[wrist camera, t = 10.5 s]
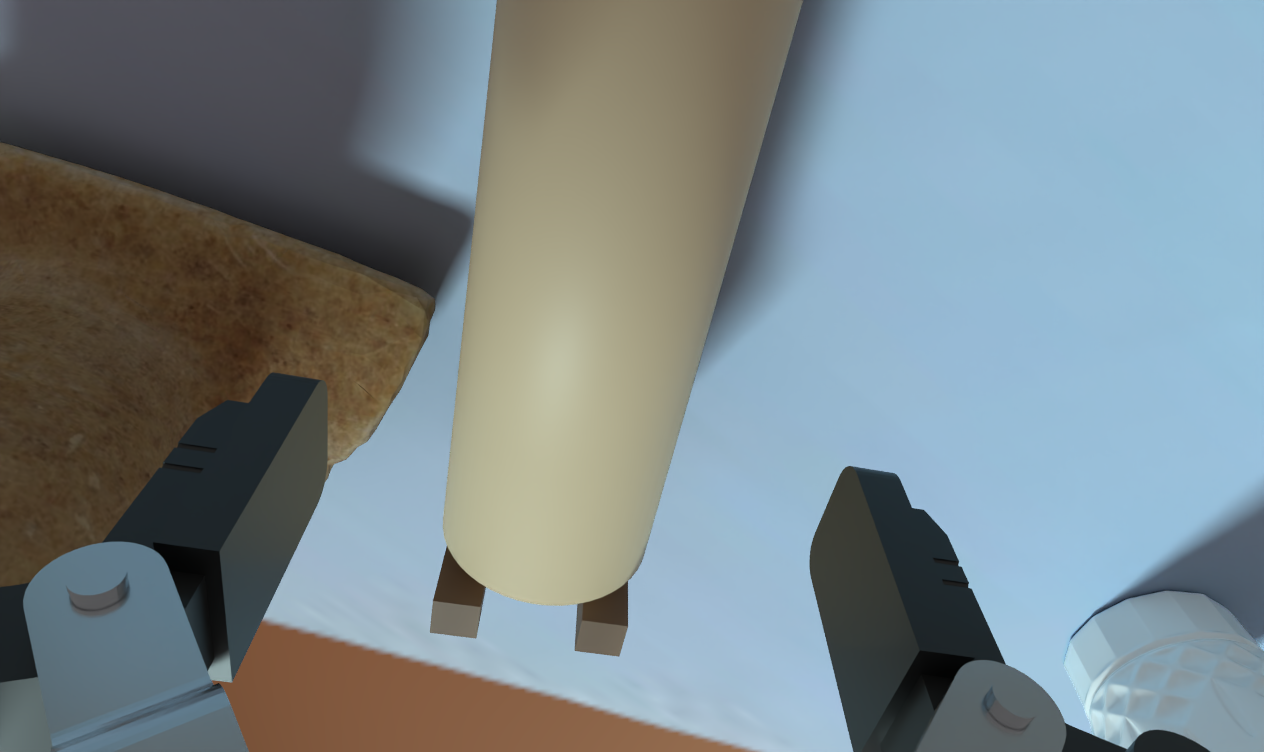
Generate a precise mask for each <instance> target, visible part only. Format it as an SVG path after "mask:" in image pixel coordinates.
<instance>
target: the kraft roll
mask: <svg viewBox="0 0 1264 752" xmlns="http://www.w3.org/2000/svg"><path fill="white" fill-rule="evenodd" d="M802 3H803V0H497V5H496V14H495V24H494V34H493V43H492V53H491V63H490V72H489V82H488V92H487V101H486V111H485V120H484V130H483V140H482V149H481V159H480V169H479V178H478V188H477V198H476V207H475V217H474V226H473V236H472V246H471V255H470V265H469V275H468V284H467V294H466V304H465V313H464V323H463V332H462V342H461V352H460V361H459V371H458V381H457V390H456V400H455V410H454V419H453V429H452V439H451V448H450V458H449V467H448V477H447V487H446V496H445V506H444V516H443V531H444V538H445V541H446V544H447V547H448V549H449V550H450V552H451V554H452V556H453V557H454V559H455V560H456V561H457V563H458V564H459V565H460V567H461V568H462V569H463V570H464V571H465V572H466V573H467V574H468V575H470V576H471V577H472V578H474V579H475V580H476V581H477V582H479V583H480V584H482V585H484V586H485V587H487V588H489V589H490V590H492V591H495V592H497V593H499V594H501V595H503V596H506V597H509V598H512V599H515V600H518V601H523V602H527V603H532V604H540V605H559V606H562V605H573V604H579V603H584V602H589V601H592V600H595V599H598V598H601V597H604V596H606V595H608V594H610V593H612V592H614V591H615V590H617V589H618V588H620V587H621V586H623V585H624V584H625V583H626V582H627V581H628V580H629V579H631V577H632V576H633V575H634V574H635V572H636V571H637V570H638V568H639V566H640V564H641V562H642V559H643V556H644V553H645V550H646V546H647V543H648V539H649V536H650V533H651V529H652V526H653V522H654V519H655V515H656V512H657V508H658V505H659V501H660V498H661V494H662V491H663V487H664V484H665V480H666V477H667V473H668V470H669V466H670V463H671V459H672V456H673V452H674V449H675V445H676V442H677V438H678V435H679V431H680V428H681V425H682V421H683V418H684V414H685V411H686V407H687V404H688V400H689V397H690V393H691V390H692V386H693V383H694V379H695V376H696V372H697V369H698V365H699V362H700V358H701V355H702V351H703V348H704V344H705V341H706V337H707V334H708V330H709V327H710V323H711V320H712V317H713V313H714V310H715V306H716V303H717V299H718V296H719V292H720V289H721V285H722V282H723V278H724V275H725V271H726V268H727V264H728V261H729V257H730V254H731V250H732V247H733V243H734V240H735V236H736V233H737V229H738V226H739V222H740V219H741V216H742V212H743V209H744V205H745V202H746V198H747V195H748V191H749V188H750V184H751V181H752V177H753V174H754V170H755V167H756V163H757V160H758V156H759V153H760V149H761V146H762V142H763V139H764V135H765V132H766V128H767V125H768V121H769V118H770V114H771V111H772V108H773V104H774V101H775V97H776V94H777V90H778V87H779V83H780V80H781V76H782V73H783V69H784V66H785V62H786V59H787V55H788V52H789V48H790V45H791V41H792V38H793V34H794V31H795V27H796V24H797V20H798V17H799V13H800V10H801V7H802Z"/></svg>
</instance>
